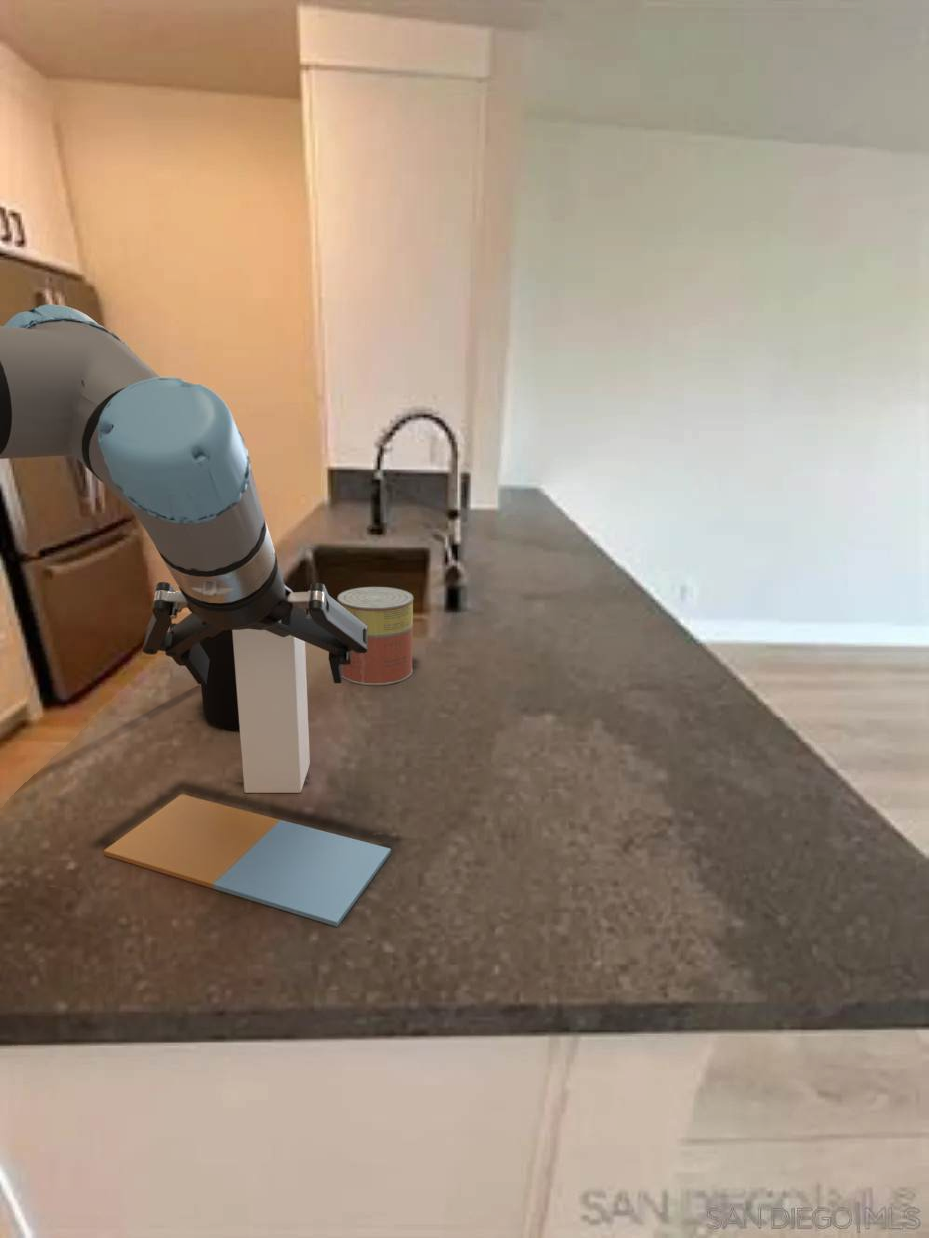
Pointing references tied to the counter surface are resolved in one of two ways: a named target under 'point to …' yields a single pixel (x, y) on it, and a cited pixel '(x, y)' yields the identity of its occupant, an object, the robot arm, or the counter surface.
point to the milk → (272, 710)
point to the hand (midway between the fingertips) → (272, 671)
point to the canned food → (381, 635)
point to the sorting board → (254, 857)
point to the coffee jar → (220, 681)
